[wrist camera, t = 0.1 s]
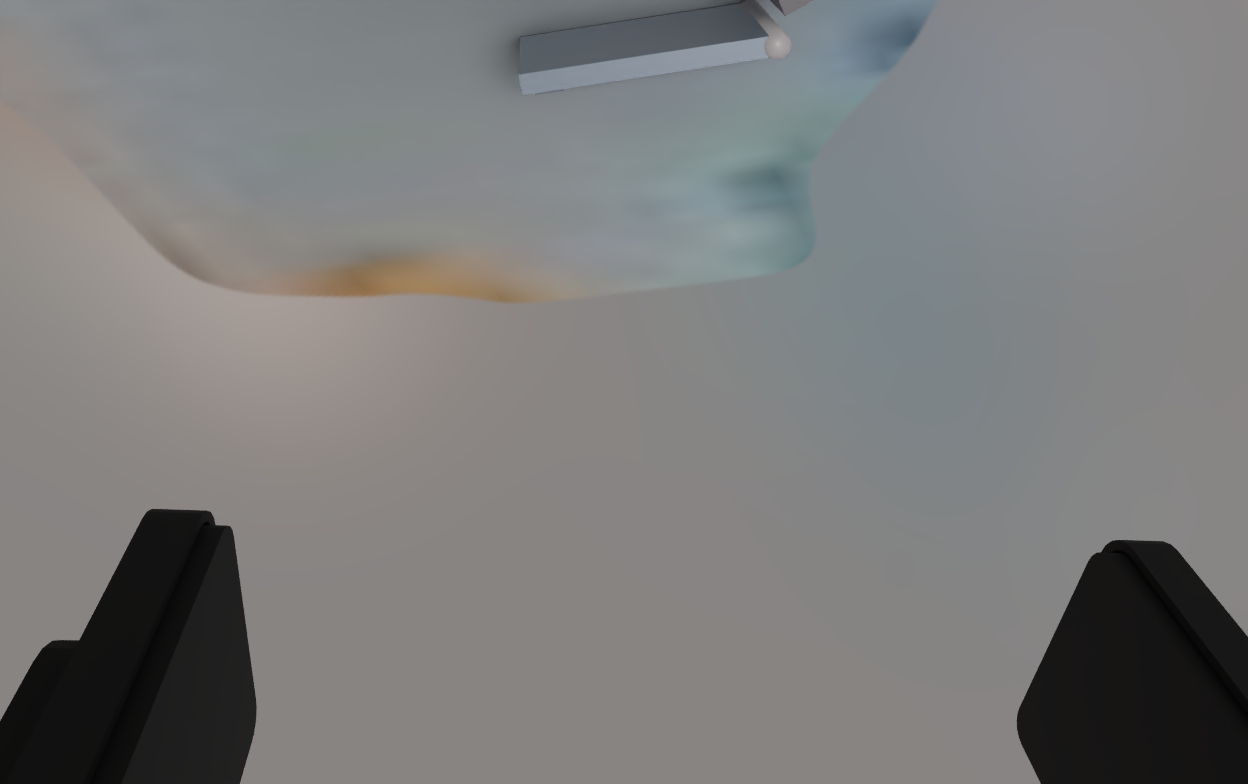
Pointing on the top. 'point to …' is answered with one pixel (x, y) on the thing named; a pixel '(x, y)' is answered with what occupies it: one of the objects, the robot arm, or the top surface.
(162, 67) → the top surface
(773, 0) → the camera body
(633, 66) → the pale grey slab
